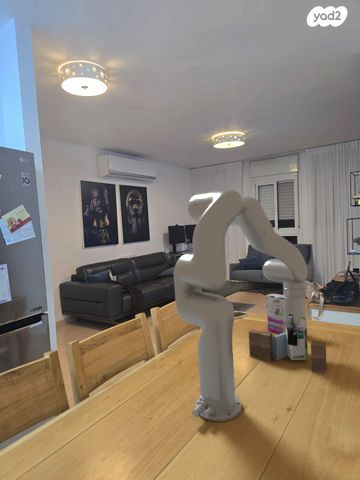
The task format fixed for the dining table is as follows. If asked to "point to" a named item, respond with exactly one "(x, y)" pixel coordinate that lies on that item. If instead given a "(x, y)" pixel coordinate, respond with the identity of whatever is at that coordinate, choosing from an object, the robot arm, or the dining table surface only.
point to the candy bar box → (276, 313)
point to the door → (279, 345)
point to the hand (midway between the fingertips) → (296, 340)
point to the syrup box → (299, 342)
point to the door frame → (264, 350)
